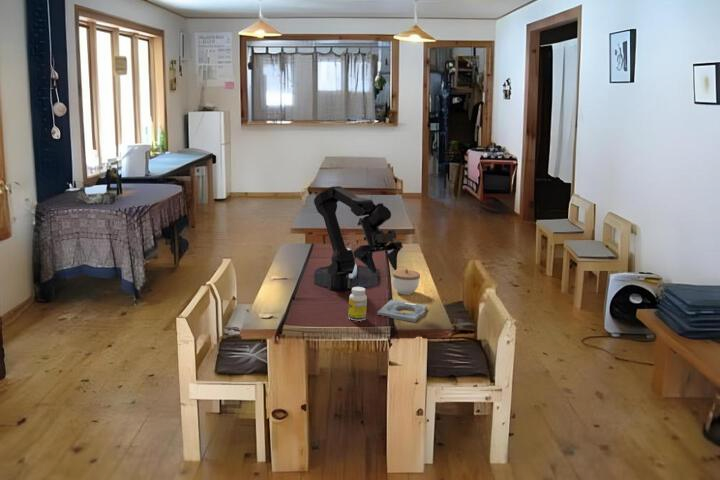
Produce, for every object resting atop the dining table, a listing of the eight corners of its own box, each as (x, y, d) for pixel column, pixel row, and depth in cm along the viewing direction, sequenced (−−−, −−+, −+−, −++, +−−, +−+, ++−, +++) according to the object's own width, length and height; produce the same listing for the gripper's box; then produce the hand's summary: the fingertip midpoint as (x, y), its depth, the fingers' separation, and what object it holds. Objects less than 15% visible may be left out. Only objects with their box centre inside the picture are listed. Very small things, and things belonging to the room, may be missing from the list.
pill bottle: (347, 315, 267) (349, 285, 264) (364, 316, 267) (366, 286, 265) (348, 321, 261) (350, 291, 258) (366, 322, 261) (368, 291, 259)
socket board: (377, 315, 269) (377, 311, 268) (390, 302, 283) (391, 299, 283) (417, 322, 264) (417, 318, 264) (429, 309, 279) (429, 305, 278)
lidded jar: (410, 298, 290) (412, 274, 287) (386, 292, 295) (387, 269, 293) (423, 292, 299) (425, 269, 296) (399, 286, 304) (401, 263, 302)
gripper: (362, 224, 264) (377, 266, 260) (404, 220, 275) (418, 259, 271) (346, 237, 273) (360, 277, 268) (387, 232, 284) (401, 271, 279)
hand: (385, 271), depth 271 cm, fingers open, 9 cm apart
